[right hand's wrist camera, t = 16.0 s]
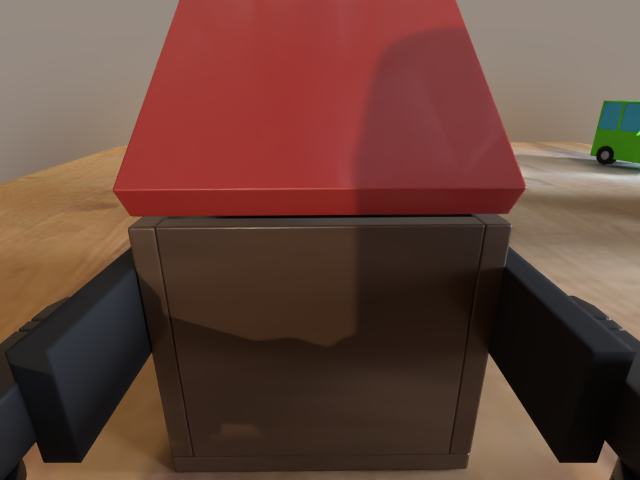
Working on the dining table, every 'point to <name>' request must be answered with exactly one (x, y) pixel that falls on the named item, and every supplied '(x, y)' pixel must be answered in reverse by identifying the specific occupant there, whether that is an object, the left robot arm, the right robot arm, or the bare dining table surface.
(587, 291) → the dining table surface
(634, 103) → the toy car
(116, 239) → the dining table surface
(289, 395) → the chest
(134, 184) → the lid
